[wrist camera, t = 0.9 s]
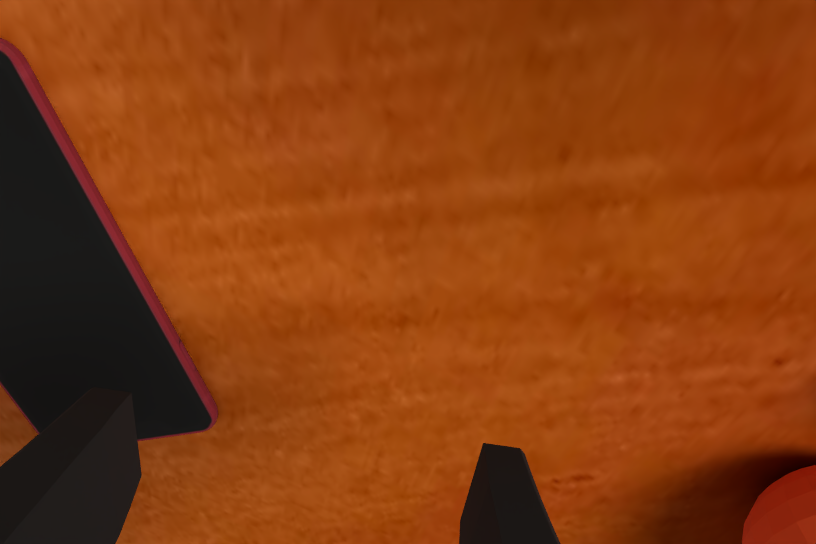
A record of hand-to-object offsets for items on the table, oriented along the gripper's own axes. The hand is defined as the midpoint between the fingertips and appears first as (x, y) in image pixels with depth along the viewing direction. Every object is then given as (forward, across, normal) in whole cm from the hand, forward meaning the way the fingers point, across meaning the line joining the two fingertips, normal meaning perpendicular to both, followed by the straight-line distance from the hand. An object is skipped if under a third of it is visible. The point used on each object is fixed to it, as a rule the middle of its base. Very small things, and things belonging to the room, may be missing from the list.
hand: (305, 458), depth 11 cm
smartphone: (+11, +11, +6) cm, 16 cm away
